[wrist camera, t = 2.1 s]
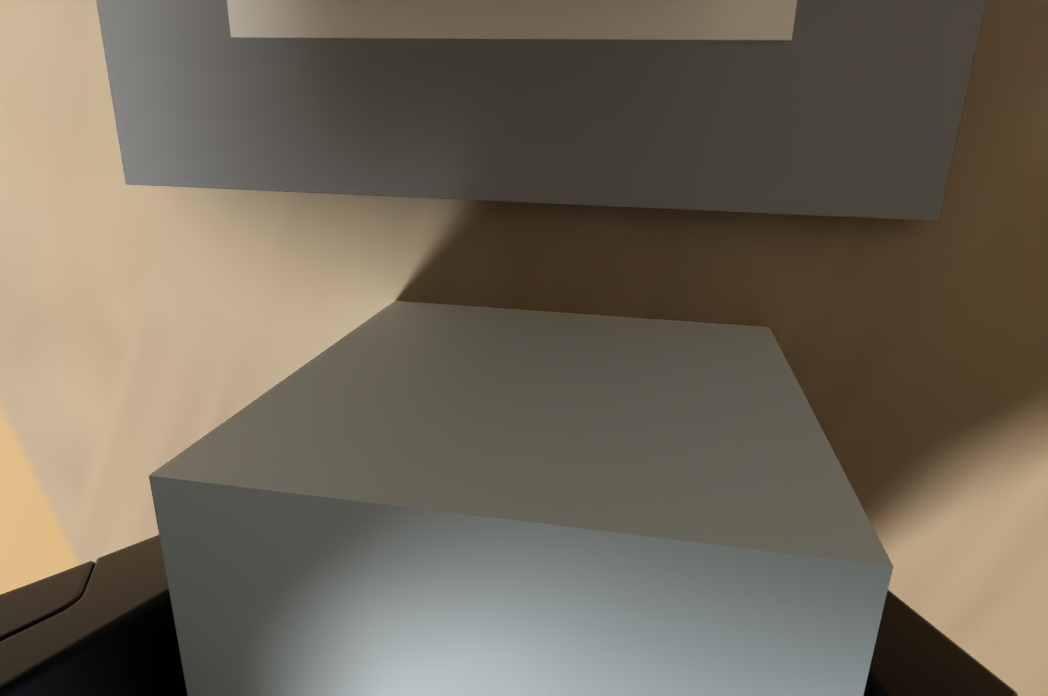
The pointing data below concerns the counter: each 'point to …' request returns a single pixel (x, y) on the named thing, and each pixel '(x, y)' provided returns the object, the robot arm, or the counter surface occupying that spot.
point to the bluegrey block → (523, 519)
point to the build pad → (550, 100)
